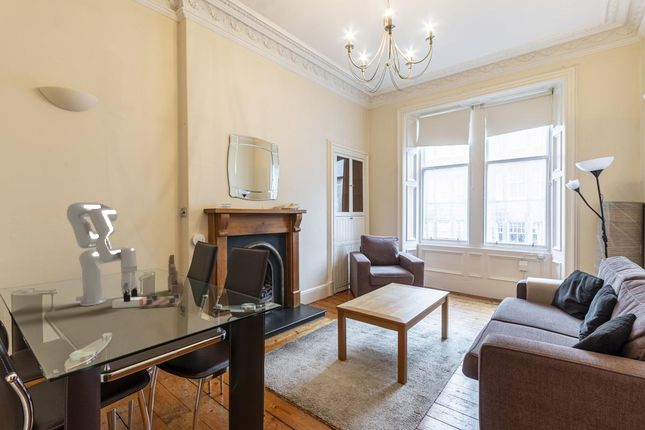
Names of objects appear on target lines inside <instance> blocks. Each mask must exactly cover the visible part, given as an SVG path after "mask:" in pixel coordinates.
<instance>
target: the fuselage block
mask: <svg viewBox="0 0 645 430" xmlns="http://www.w3.org/2000/svg"><path fill="white" fill-rule="evenodd" d="M146 300H147V296H139V297H138V296H137V297H130V302H124V298H123V297H122V298H120V297H119V298H115V299H113V300H112V301H111V307H112V309H120V308H121V309H123V308H135V307H136V308H137V307H142V306H143V305H144V304H145V303H146Z"/></svg>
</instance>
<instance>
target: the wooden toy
mask: <svg viewBox="0 0 645 430" xmlns="http://www.w3.org/2000/svg"><path fill="white" fill-rule="evenodd" d="M167 265H168V267H167V268H168V277H167V291H168V293H170V294H171V296H174V295H173V294H178V293H180V295H182V294H184V282H183V278H182V277H180V278H179V271H178V270H177V267H176V264H175V254H170V255H169V257H168V262H167Z"/></svg>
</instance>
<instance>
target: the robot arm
mask: <svg viewBox="0 0 645 430" xmlns="http://www.w3.org/2000/svg"><path fill="white" fill-rule="evenodd" d="M87 217H89V219H90V220H91V223H92V225H93V227H94V229H95V231H94V230H93V229H92V228H93V227H92V226H91V224H90V222H89V221H88V220H87V219H86V218H87ZM66 218H67V220H68V222H69V224H70V225H71V227H72V231H73V233H74V237H75V239H76V243H77V245H78V247H79V248H81V249H87V250H85V251H83V252H81V253H80V255H79V256H78V257H79V259H78V260H79V264H80V268H81V274H82V275H81V276H82V278H81V279H82V296H76V297H75V301H77V302H79V301H80V303H79V305H80V306H83V307H87V306H97V305H99V304H103V303H105V302H107V298H106V297H104V282H103V281H104V280H103V271H102V268H100V266H99V265H102V264H107V263H113V262H120V273H121V280H120V288H121V289H120V290H121V291H122V292H121V293H122V295H123V297H122V298H124V302H130V298H134V297H138V276H137V271H138V269H137V268H138V265H137V251H136V248H134V247H121V246H120V247H114V248H113V247H112V244H111V241H110V238H109V237H110V236H112V235H113V234H114V233H115V232H116V229H115V227H114V224H113V223H112V222H115V221H117V219H118V212H117V210H116V209H115V208H112V207H111V206H108V205H106V204H103V203H100V202H86V201H85V202H81V201H80V202H74V203H72V204H69V206H68V207H67V208H66ZM91 248H93V249H91Z"/></svg>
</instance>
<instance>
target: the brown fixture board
mask: <svg viewBox="0 0 645 430" xmlns="http://www.w3.org/2000/svg"><path fill="white" fill-rule="evenodd" d="M180 295H181V294H180V293H178V294H173V295H172V296H168V297H159V294H152V295H151V298H148V299H147V300H146V303H145V304H144V305H143V306H141V308H142V310H143V309H155V308H167V307H169V308H170V307H178V305H179V304H181V302H182V301H183V300H184V296H182V295H181V296H180Z"/></svg>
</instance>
